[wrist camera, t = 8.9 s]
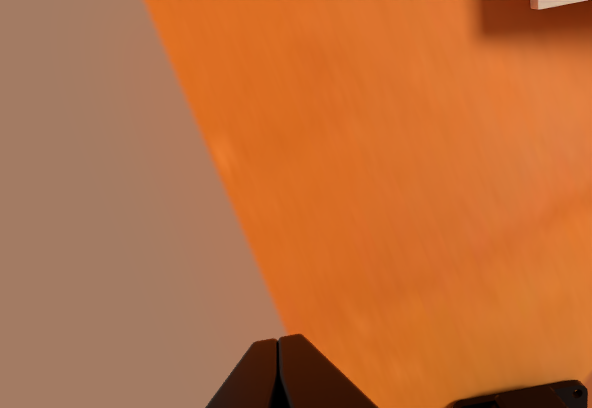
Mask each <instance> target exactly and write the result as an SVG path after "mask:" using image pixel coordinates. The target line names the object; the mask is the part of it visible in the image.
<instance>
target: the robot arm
mask: <svg viewBox="0 0 592 408" xmlns="http://www.w3.org/2000/svg"><path fill="white" fill-rule="evenodd" d="M575 390H577V391H576V392H574V391H575ZM573 392H574V393H573ZM587 396H588V392H587V388H586V387H585V386H584V385H583V384H582V383H581V382H580V381H578V380H570V381H564V382H559V383H553V384H548V385H543V386H537V387H532V388H526V389H521V390H515V391H510V392H504V393H499V394H493V395H488V396H482V397H477V398H471V399H466V400H461V401H458V402H457V403H456V404H455V405H454V406H453V408H587ZM205 408H378V407H377V406H376V405H375V404H374V403H373V402H372V401H371V400H370V399H369V398H368V397H367V396H366V395H365V394H364V393H363V392H362V391H361V390H360V389H359V388H358V387H357V386H355V385H354V384H353V383H352V382H351V381H350V380H349V379H348V378H347V377H346V376H345V375H344V374H343V373H342V372H341V371H340V370H339V369H338V368H337V367H336V366H335V365H334V364H332V363H331V362H330V361H329V360H328V359H327V358H326V357H325V356H324V355H323V354H322V353H321V352H320V351H319V350H318V349H317V348H316V347H315V346H314V345H313V344H312V343H311V342H309V341H308V340H307V339H306V338H305V337H304V336H303V335H302V334H295V335H289V336H284V337H281V338H279V340H278V341H277V340H276V339H267V340H261V341H256V342H254V343H253V344H252V345H251V346H250V348H249V349H248V351H247V352H246V353H245V354H244V356H243V357H242V359H241V360H240V361H239V363H238V364H237V365H236V367H235V368H234V369H233V371H232V372H231V373H230V375H229V376H228V378H227V379H226V380H225V382H224V383H223V384H222V386H221V387H220V388H219V390H218V391H217V393H216V394H215V395H214V397H213V398H212V399H211V401H210V402H209V403H208V405H207V406H206V407H205Z"/></svg>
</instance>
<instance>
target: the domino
mask: <svg viewBox="0 0 592 408" xmlns="http://www.w3.org/2000/svg"><path fill="white" fill-rule="evenodd" d="M581 1H586V0H530V6H531V9H537V10H539V9H545V8H550V7H555V6H560V5H565V4H571V3H576V2H581Z"/></svg>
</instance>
